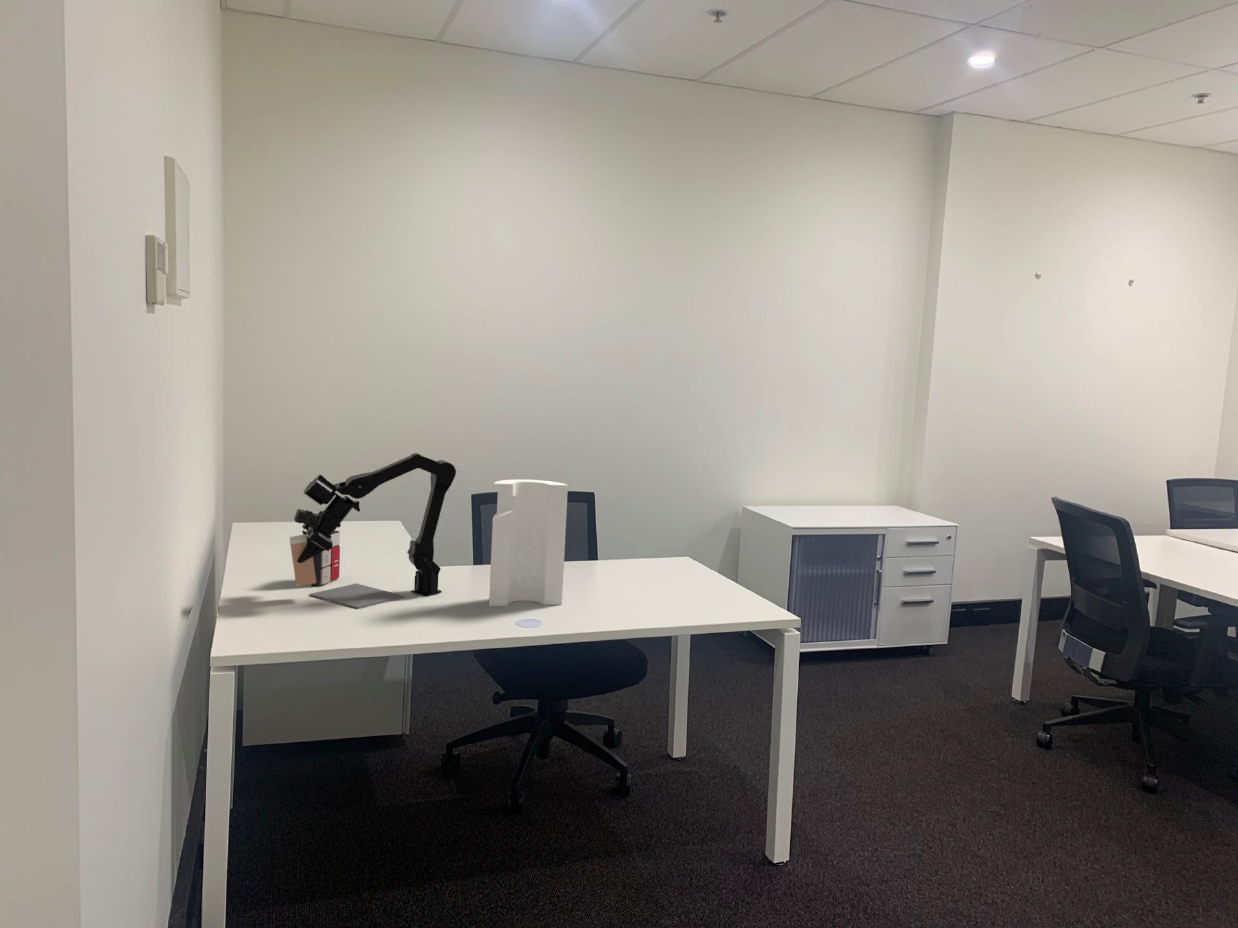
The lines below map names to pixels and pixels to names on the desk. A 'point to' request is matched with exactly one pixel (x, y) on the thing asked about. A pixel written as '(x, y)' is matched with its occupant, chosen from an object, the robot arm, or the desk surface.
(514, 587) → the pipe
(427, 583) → the robot arm
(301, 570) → the peach block
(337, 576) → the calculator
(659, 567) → the desk surface
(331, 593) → the grey mat
